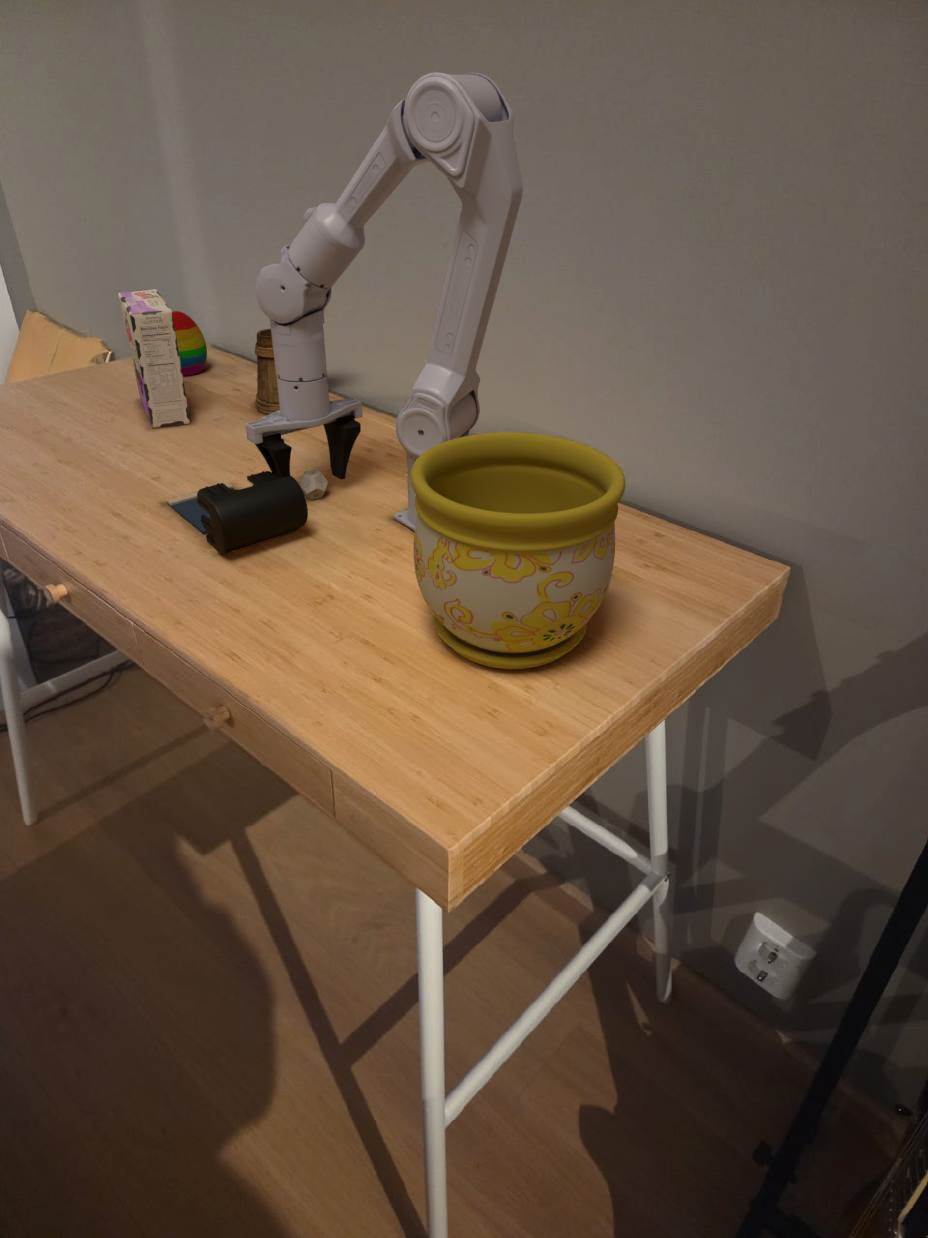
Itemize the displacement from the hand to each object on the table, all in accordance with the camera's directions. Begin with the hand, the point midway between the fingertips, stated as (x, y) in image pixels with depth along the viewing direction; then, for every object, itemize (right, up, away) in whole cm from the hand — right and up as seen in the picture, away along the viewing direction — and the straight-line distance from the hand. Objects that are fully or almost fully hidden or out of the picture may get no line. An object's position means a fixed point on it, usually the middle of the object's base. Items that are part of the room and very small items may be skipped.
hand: (312, 484), depth 102 cm
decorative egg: (-30, +26, +42) cm, 58 cm away
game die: (0, -1, +1) cm, 2 cm away
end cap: (-5, -8, -9) cm, 13 cm away
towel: (-11, -3, -2) cm, 12 cm away
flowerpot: (+23, -18, -23) cm, 37 cm away
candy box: (-27, +15, +25) cm, 40 cm away
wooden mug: (-8, +17, +29) cm, 35 cm away
